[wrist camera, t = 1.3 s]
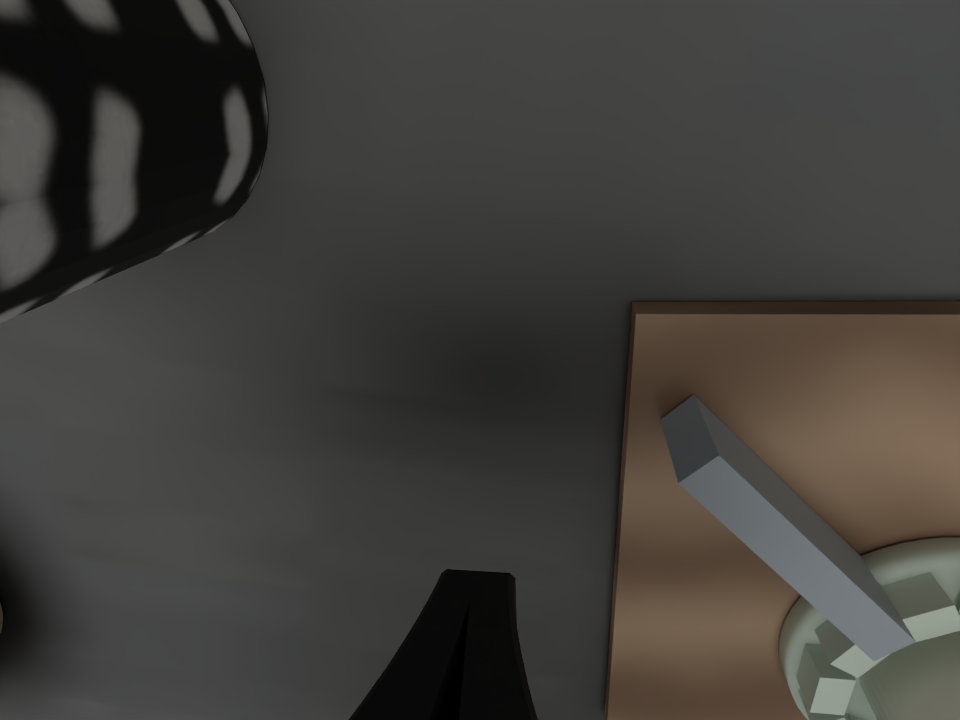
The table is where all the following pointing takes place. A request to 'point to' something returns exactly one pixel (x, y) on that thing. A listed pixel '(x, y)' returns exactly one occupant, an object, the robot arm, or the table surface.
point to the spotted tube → (119, 136)
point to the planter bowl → (1, 618)
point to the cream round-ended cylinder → (917, 681)
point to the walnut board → (791, 456)
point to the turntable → (817, 569)
